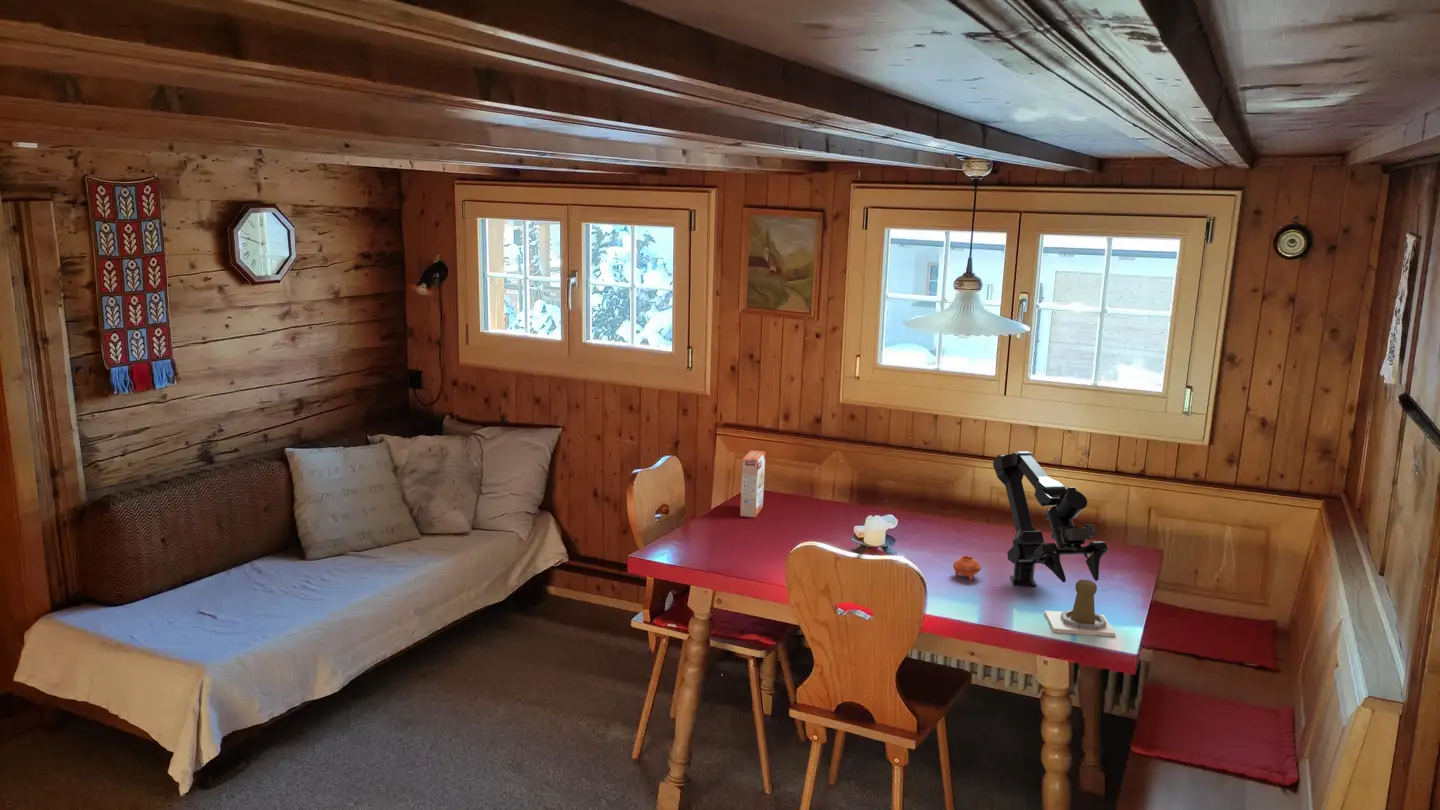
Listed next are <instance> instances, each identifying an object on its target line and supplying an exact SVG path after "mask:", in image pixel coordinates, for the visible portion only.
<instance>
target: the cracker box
mask: <svg viewBox="0 0 1440 810" xmlns="http://www.w3.org/2000/svg"><path fill="white" fill-rule="evenodd" d="M766 454H767V453H766V451H762V450H749V452H748V453H747V454H746V455H745V456H743V458H742V464H741V466H742V467H741V483H740V484H741V485H740V486H741V489H740V490H741V491H740V505H739V506H740V508H739V509H740V511H739V516H740V517H744V518H752V519H753V518H754V519H756V517H757V516H758V515H759V513H760V512H761V510H762V509H763V507H764V490H765V469H766V467H765V466H766Z"/></svg>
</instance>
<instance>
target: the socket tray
mask: <svg viewBox="0 0 1440 810" xmlns="http://www.w3.org/2000/svg"><path fill="white" fill-rule="evenodd" d="M1072 611H1073V608H1072V609H1067V610H1065V611H1058V610H1057V611H1056V610H1044V616H1045V618H1046V620H1047V622H1048V624H1049V626H1050V628H1051V630H1052V631H1053V633H1059V634H1074V635H1086V636H1097V635H1101V637H1110V636H1115V637H1116V632H1115V631H1114V629H1113V627H1112V626H1111V624H1110V622H1109V621H1108V620H1107V618H1106V616H1105V615H1104V614H1098V613H1096V612H1095V624H1082V623H1078V622H1075V621H1073V620H1070V619H1071V615H1072Z"/></svg>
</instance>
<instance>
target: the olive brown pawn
mask: <svg viewBox="0 0 1440 810" xmlns="http://www.w3.org/2000/svg"><path fill="white" fill-rule="evenodd" d="M1097 590H1098V586H1097V583H1095V582H1094V581H1092V580H1090V579H1080V580H1077V581H1076V582H1075V592H1076V596H1075V599H1074V603H1073V608H1072V609H1073V611H1072V615H1071V619H1070V620H1073V621H1075V622H1078V623H1082V624H1095V613H1096V612H1095V595H1096V593H1097V592H1098V591H1097Z"/></svg>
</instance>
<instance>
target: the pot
mask: <svg viewBox="0 0 1440 810" xmlns="http://www.w3.org/2000/svg"><path fill="white" fill-rule="evenodd" d="M952 568H953V569H954V573H955V576H956V577H959V575H961V576H964V577H968V579H969V581H970V582H971V581H972V580H973V577H974V575H975V576H976V575H977V574H978V573H979V572H980V571H981V569H982V566H981V564H980V562H979V561H978V560H977V559H975V558H974V557H973V556H969V555H963V556H961V557H960V558H958V559H957V560H955V562H954V563H953V564H952Z"/></svg>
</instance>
